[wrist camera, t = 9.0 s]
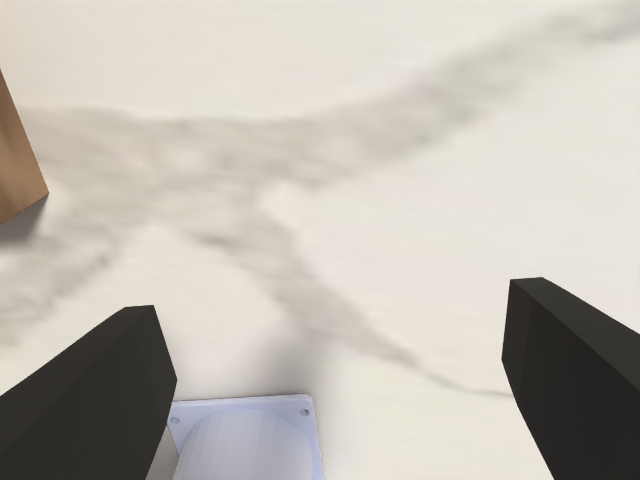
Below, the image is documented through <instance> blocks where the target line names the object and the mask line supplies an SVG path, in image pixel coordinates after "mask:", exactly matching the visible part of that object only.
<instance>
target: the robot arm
mask: <svg viewBox="0 0 640 480" xmlns="http://www.w3.org/2000/svg"><path fill="white" fill-rule="evenodd" d="M501 360H502V363H503V366H504V369H505V372H506V375H507V378H508V381H509V384H510V387H511V389H512V392H513V395H514V398H515V400H516V403H517V406H518V408H519V410H520V412H521V414H522V416H523V418H524V420H525V422H526V424H527V426H528V428H529V430H530V432H531V434H532V436H533V438H534V440H535V442H536V445H537V446H538V448H539V450H540V452H541V454H542V456H543V458H544V460H545V462H546V464H547V466H548V468H549V470H550V472H551V474H552V476H553V478H554V480H640V334H638V333H637V332H635V331H633V330H632V329H630V328H628V327H626V326H625V325H623V324H621V323H620V322H618V321H616V320H615V319H613V318H611V317H610V316H608V315H606V314H604V313H603V312H601V311H600V310H598V309H596V308H595V307H593V306H591V305H590V304H588V303H586V302H585V301H583V300H581V299H580V298H578V297H576V296H575V295H573V294H571V293H570V292H568V291H566V290H565V289H563V288H561V287H559V286H558V285H556V284H554V283H552V282H550V281H548V280H547V279H545V278H543V277H538V278H524V279H510V286H509V295H508V304H507V313H506V323H505V332H504V341H503V350H502V359H501ZM176 383H177V377H176V374H175V371H174V368H173V365H172V361H171V358H170V355H169V352H168V349H167V346H166V343H165V339H164V336H163V333H162V330H161V327H160V324H159V320H158V317H157V314H156V311H155V308H154V305H146V306H132V307H124V308H123V309H121V310H119V311H118V312H116V313H115V314H113V315H112V316H110V317H109V318H107V319H106V320H105V321H103V322H102V323H100V324H99V325H98V326H96V327H95V328H93V329H92V330H91V331H89V332H88V333H87V334H85V335H84V336H83V337H81V338H80V339H79V340H77V341H76V342H75V343H73V344H72V345H71V346H69V347H68V348H67V349H65V350H64V351H62V352H61V353H60V354H58V355H57V356H56V357H54V358H53V359H52V360H50V361H49V362H48V363H46V364H45V365H44V366H42V367H41V368H40V369H38V370H37V371H35V372H34V373H33V374H31V375H30V376H28V377H27V378H26V379H24V380H23V381H21V382H20V383H18V384H17V385H16V386H14V387H13V388H11V389H10V390H8V391H7V392H5V393H4V394H3V395H1V396H0V480H145V479H146V476H147V474H148V471H149V469H150V466H151V464H152V461H153V458H154V456H155V453H156V451H157V448H158V445H159V443H160V440H161V438H162V435H163V432H164V430H165V427H166V424H168V427H169V430H170V433H171V435H172V438H173V441H174V444H175V447H176V450H177V453H178V455H179V460H178V463H177V467H176V470H175V473H174V476H173V479H172V480H324V475H323V468H322V461H321V454H320V447H319V440H318V433H317V425H316V418H315V411H314V404H313V399H312V398H311V397H310V396H309V395H306V394H295V395H278V396H261V397H244V398H227V399H210V400H193V401H176V402H172V401H173V396H174V392H175V388H176ZM303 409H305V410H306V411H304V410H303ZM176 417H177V418H176Z"/></svg>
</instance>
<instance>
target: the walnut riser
mask: <svg viewBox="0 0 640 480" xmlns="http://www.w3.org/2000/svg"><path fill="white" fill-rule="evenodd" d="M48 193H49V191H48V189H47V186H46V184H45V181H44V179H43V176H42V173H41V171H40V168H39V166H38V163H37V161H36V158H35V156H34V153H33V151H32V148H31V146H30V143H29V141H28V138H27V136H26V133H25V131H24V128H23V125H22V123H21V120H20V118H19V115H18V113H17V110H16V108H15V105H14V103H13V100H12V98H11V95H10V93H9V90H8V88H7V85H6V82H5V80H4V77H3V75H2V72H1V70H0V223H5V222H6V221H8V220H9V219H11V218H12V217H14V216H15V215H17V214H18V213H20V212H21V211H23V210H24V209H26V208H27V207H29V206H30V205H32V204H33V203H35V202H36V201H38V200H39V199H41V198H42V197H44V196H45V195H47V194H48Z"/></svg>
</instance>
